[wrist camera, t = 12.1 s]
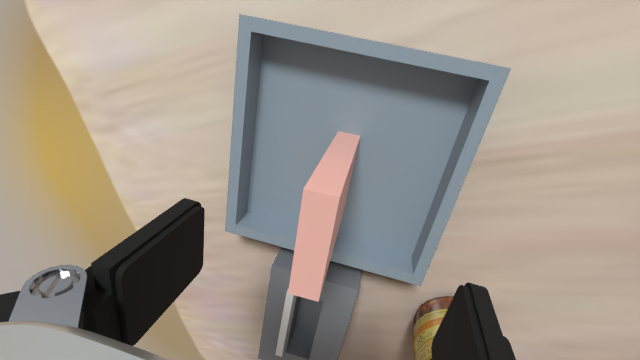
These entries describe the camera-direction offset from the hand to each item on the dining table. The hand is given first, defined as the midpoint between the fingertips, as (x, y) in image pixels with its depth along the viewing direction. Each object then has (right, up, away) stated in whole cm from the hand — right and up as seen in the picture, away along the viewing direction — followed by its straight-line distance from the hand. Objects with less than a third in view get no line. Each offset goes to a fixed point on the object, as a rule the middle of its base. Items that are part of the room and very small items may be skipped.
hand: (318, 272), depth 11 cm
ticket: (+2, +4, +12) cm, 13 cm away
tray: (+2, +5, +13) cm, 14 cm away
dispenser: (-1, -8, +19) cm, 21 cm away
